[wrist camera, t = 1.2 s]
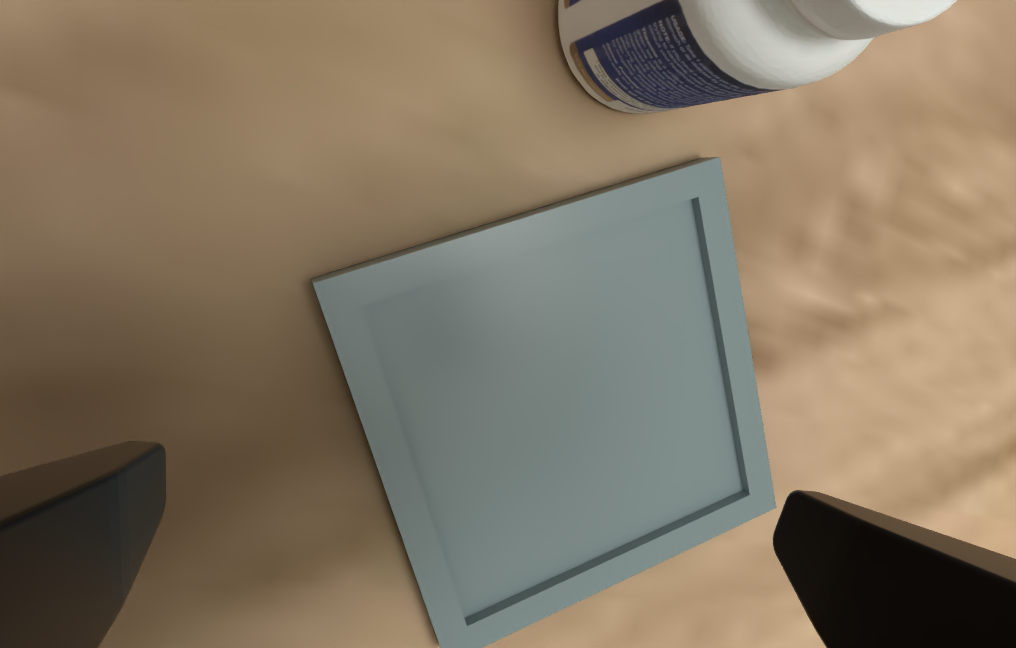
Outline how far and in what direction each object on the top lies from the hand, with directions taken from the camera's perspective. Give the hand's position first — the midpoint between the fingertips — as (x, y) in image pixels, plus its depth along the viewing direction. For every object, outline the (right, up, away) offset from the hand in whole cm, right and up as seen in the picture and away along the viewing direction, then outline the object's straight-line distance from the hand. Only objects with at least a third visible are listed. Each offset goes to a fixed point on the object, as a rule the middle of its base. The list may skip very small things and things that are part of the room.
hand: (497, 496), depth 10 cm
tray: (+2, 0, +13) cm, 13 cm away
